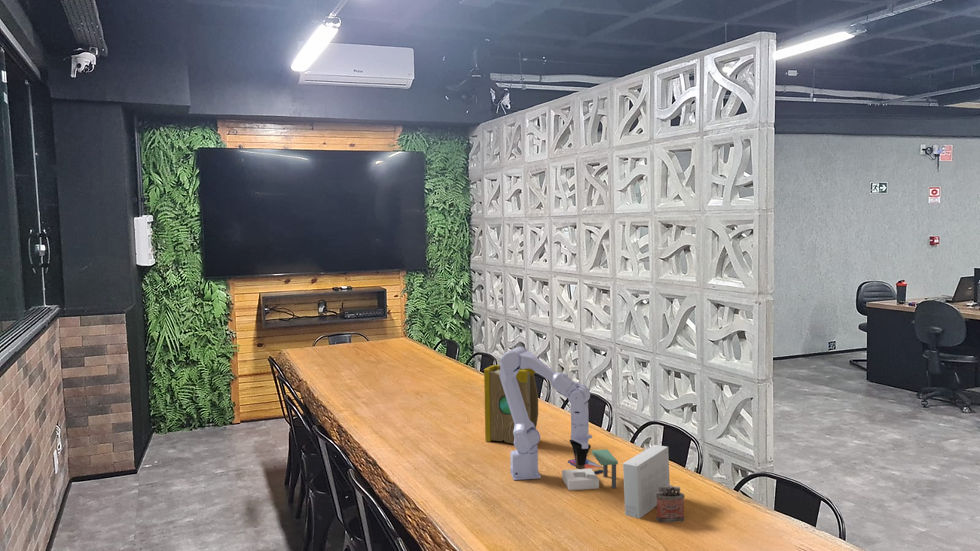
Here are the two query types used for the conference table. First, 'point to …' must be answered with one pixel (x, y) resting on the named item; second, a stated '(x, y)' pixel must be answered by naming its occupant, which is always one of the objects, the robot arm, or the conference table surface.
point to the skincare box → (645, 480)
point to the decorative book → (497, 406)
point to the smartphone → (589, 465)
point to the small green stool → (606, 463)
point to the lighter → (670, 504)
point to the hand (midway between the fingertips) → (580, 463)
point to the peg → (580, 465)
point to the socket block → (580, 479)
